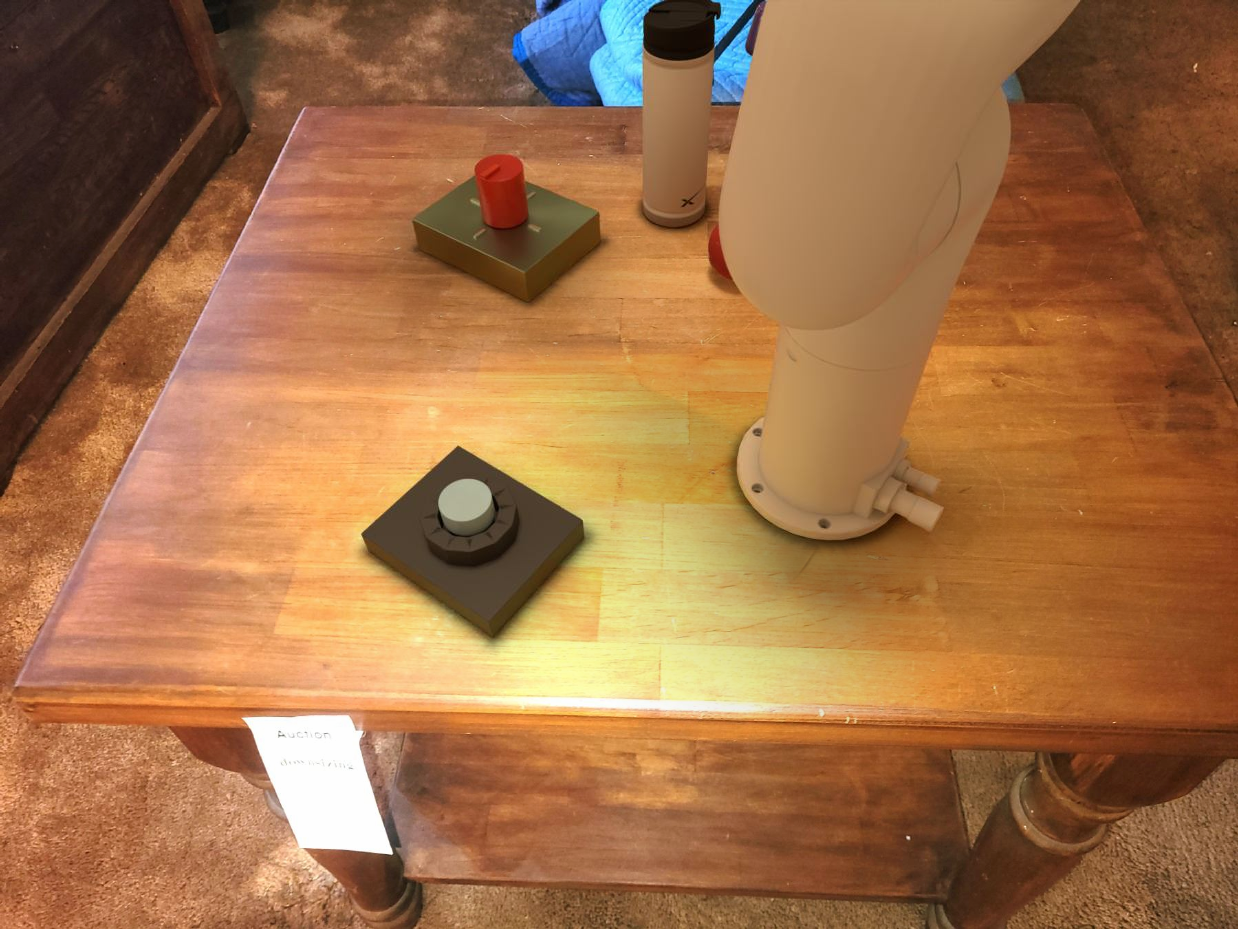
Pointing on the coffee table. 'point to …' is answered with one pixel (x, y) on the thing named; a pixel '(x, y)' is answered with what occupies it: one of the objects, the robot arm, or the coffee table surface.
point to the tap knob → (501, 190)
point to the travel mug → (677, 108)
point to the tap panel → (509, 238)
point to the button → (466, 507)
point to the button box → (475, 542)
